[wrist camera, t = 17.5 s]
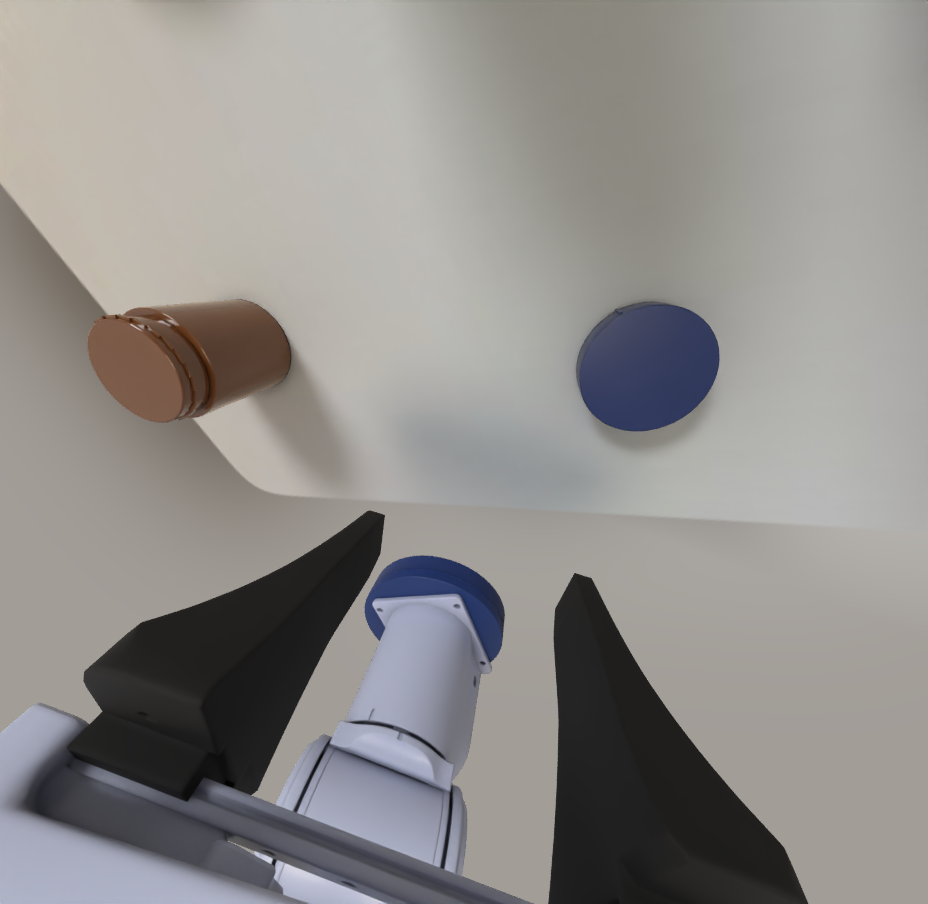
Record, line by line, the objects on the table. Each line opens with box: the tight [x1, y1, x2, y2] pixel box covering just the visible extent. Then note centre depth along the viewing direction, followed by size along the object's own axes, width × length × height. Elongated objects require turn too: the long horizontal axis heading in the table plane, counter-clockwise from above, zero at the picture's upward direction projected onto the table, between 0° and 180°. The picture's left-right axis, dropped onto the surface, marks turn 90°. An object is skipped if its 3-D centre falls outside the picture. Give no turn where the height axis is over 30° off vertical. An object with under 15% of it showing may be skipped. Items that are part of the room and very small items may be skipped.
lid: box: [576, 302, 719, 431], centre depth 16 cm, size 6×6×2 cm
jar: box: [87, 299, 290, 422], centre depth 18 cm, size 5×5×7 cm
